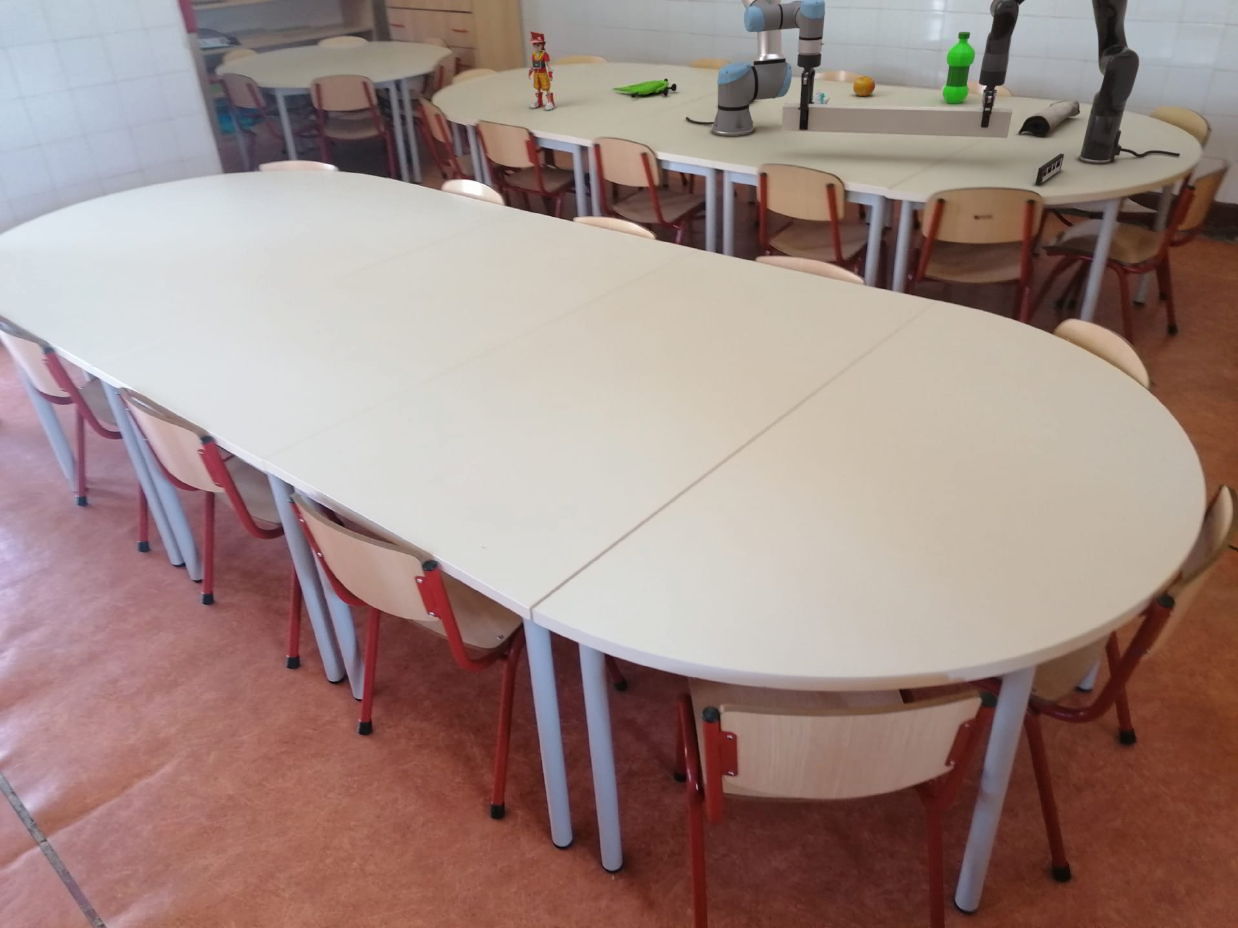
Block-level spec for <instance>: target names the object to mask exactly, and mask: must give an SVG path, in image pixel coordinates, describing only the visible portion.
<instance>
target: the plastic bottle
mask: <svg viewBox="0 0 1238 928" xmlns="http://www.w3.org/2000/svg"><path fill="white" fill-rule="evenodd" d="M970 36H971V32H970V31H959V32H958V36H957V39H958V42H957V43H956V44H954V45H953V46H952V47H951V48H950V49H949V50H948V52H947V54H946V63H947V64H948V69H947V70H948V71H947V76H946V77H947V78H946V84H945V85H944V87H943V90H942V97H943V99H944V100H945V101H946V102H947V103H948V104H960V103H961V102H963V101H964V100H966V98H967V96H968V95H969V85H968V79H969V73H970V67H971V65H972V64H973V63H974V61H975V57H976V51H975V49H974V47H972V45H971V44H970V43H969V42H968V41H969V39H970V38H971V37H970Z"/></svg>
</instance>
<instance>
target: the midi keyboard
mask: <svg viewBox="0 0 1238 928" xmlns="http://www.w3.org/2000/svg"><path fill="white" fill-rule="evenodd" d="M1064 157H1065V153H1059V154H1058V155H1056V156H1055V157H1052V159H1051V160H1049V161H1047V162H1045V164H1042V165H1041V166H1039V167H1038V169H1037V175H1036V179H1035V186H1040V185H1042V183H1044V182H1045V181H1047V180H1048V179H1049V178H1051V177H1052V176H1054V175H1055V174H1056V173H1058V172H1060V171H1061V170H1062V165H1063V161H1064Z"/></svg>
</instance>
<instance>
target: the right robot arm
mask: <svg viewBox="0 0 1238 928" xmlns="http://www.w3.org/2000/svg"><path fill="white" fill-rule="evenodd" d="M1025 1H1026V0H992V2H991V3H990V5H989V6H990V7H989V13H990V15H991V17H992V18H993V19H992V24H991V29H990V32H988V34H987V37H986V42H985V48H984V54H983V56H982V61H981V67H980V72H979V79H978V84H979V85H981V86H983V87H985V88H984V89H983V91H982V100H981V101H982V102H981V108H983V112H982V121H981V127H982V128H987V127H988V124H989V119H990V115H991V113H992V108H994V107H995V101H996V98H997V94H998V91H997V90H998V89H996V87H1000V86H1003V85H1004V84H1005V83H1006V78H1007V72H1008V66H1009V60H1010V49H1011V46H1012V37H1013V34H1014V31H1015V28H1016V25H1017V23H1018V18H1019V15H1020V13H1019V12H1020V6H1021V5H1022V4H1023V3H1024V2H1025ZM1128 1H1129V0H1091V5H1092V12H1093V17H1094V22H1095V28H1096V31H1097V32H1096V34H1097V57H1098V58H1097V63H1098V64H1097V65H1098V70H1099V72H1100V74H1101V75H1102V76H1103V78H1102V79H1103V80H1102V82H1101V86H1100V89H1099V90H1098V91H1097V92H1096V93H1095V94H1094V96H1093V100H1092V103H1091V108H1090V113H1089V117H1088V121H1087V125H1086V130H1085V134H1084V137H1083V142H1082V145H1081V151H1080V154H1079V156H1078V157H1079V158H1078V159H1079V160H1080V161H1082V162H1084V163H1088V164H1097V165H1100V164H1108V163H1114V161H1115V158H1116V157H1117V156H1118V157H1119V156H1120V155H1121V152H1124V153H1129V154H1130V155H1133V156H1134V157H1137V158H1142V157H1145V156H1147V155H1150V154H1158V155H1159V154H1160V155H1167V156H1173V157H1180V155H1181V153H1179V152H1172V151H1166V150H1157V149H1155V150H1154V149H1153V150H1152V149H1151V150H1147V151H1145V152H1143V153H1138V152H1136V151H1134V150H1132V149H1129V148H1125V147H1122V145H1120V144H1119V142H1120V138H1121V134H1122V130H1120V128H1121V125H1122V121H1123V116H1124V112H1125V109H1126V104H1127V102H1128V99H1129V98H1130V96H1131V94H1132V92H1133V88H1134V85H1135V82H1136V79H1137V75H1138V73H1139V67H1140V56H1139V55H1138V54H1137V52H1136V51H1135V50H1133V49H1131V48H1129V45H1128V41H1127V38H1126V31H1125V19H1126V13H1127V8H1128ZM985 108H990V110H985Z"/></svg>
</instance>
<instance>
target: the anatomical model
mask: <svg viewBox="0 0 1238 928" xmlns="http://www.w3.org/2000/svg"><path fill="white" fill-rule="evenodd" d="M825 97H826V96H825V93H824V92H823V91H822V90H821V89H818V90H817V92H816V93H815V94H813V101H812V102H814V104H828V103H829V101H830V100H831V98H830V97H829V98H826V99H825V100H824V98H825Z"/></svg>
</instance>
